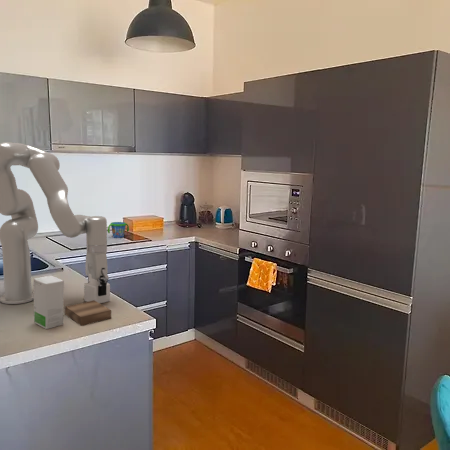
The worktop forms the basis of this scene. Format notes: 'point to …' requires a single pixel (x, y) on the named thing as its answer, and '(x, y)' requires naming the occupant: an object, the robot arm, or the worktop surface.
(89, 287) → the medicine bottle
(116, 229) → the snack cup
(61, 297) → the skincare box
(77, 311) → the block
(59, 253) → the worktop surface
